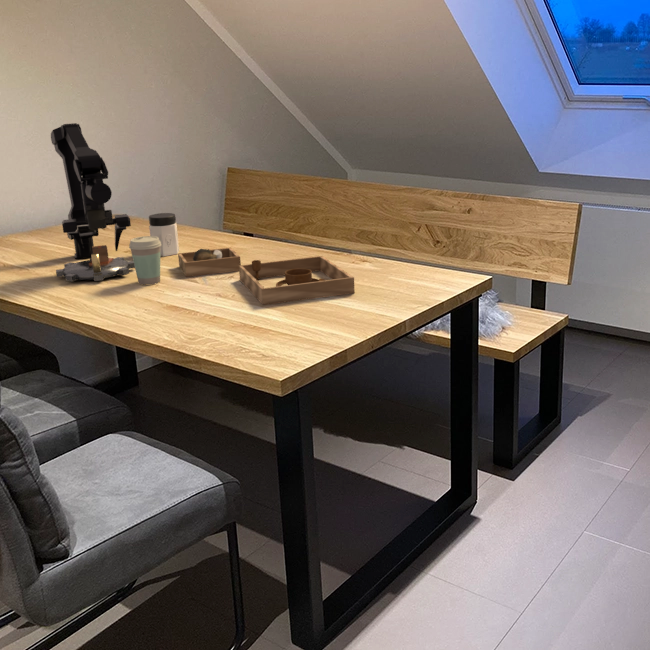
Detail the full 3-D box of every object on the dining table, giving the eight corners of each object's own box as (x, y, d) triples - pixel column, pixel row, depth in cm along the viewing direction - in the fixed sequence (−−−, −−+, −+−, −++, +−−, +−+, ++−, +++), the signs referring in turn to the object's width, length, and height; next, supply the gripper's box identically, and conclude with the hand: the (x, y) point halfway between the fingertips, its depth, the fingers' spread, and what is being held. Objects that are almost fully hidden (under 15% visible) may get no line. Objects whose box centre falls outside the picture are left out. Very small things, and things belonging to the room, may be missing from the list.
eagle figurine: (193, 262, 232) (186, 264, 223) (206, 241, 231) (199, 242, 222) (216, 276, 232) (210, 278, 224) (228, 255, 231) (222, 257, 222)
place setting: (274, 300, 199) (273, 277, 197) (249, 282, 216) (247, 261, 214) (338, 290, 205) (337, 268, 203) (308, 273, 223) (307, 252, 221)
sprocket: (56, 267, 235) (53, 245, 233) (131, 258, 241) (129, 237, 239) (57, 285, 215) (53, 262, 213) (139, 275, 221) (136, 252, 219)
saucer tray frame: (239, 279, 216) (238, 265, 215) (322, 269, 223) (321, 255, 222) (263, 305, 193) (262, 289, 192) (354, 293, 200) (354, 277, 198)
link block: (93, 259, 234) (92, 246, 233) (107, 258, 235) (106, 244, 234) (94, 262, 230) (92, 248, 229) (108, 261, 231) (107, 247, 230)
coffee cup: (154, 276, 223) (149, 234, 220) (171, 281, 217) (166, 238, 214) (127, 282, 218) (122, 239, 214) (144, 288, 212) (139, 244, 208)
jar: (157, 257, 244) (153, 219, 241) (147, 253, 251) (143, 215, 247) (184, 253, 249) (180, 215, 245) (174, 248, 256) (170, 211, 252)
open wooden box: (179, 266, 233) (178, 253, 231) (231, 260, 237) (230, 247, 236) (186, 277, 221) (184, 263, 220) (241, 270, 226) (240, 256, 224)
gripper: (59, 206, 217) (67, 262, 222) (129, 200, 222) (135, 254, 227) (58, 200, 227) (66, 253, 232) (125, 194, 232) (131, 246, 237)
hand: (100, 252), depth 232 cm, fingers open, 9 cm apart
